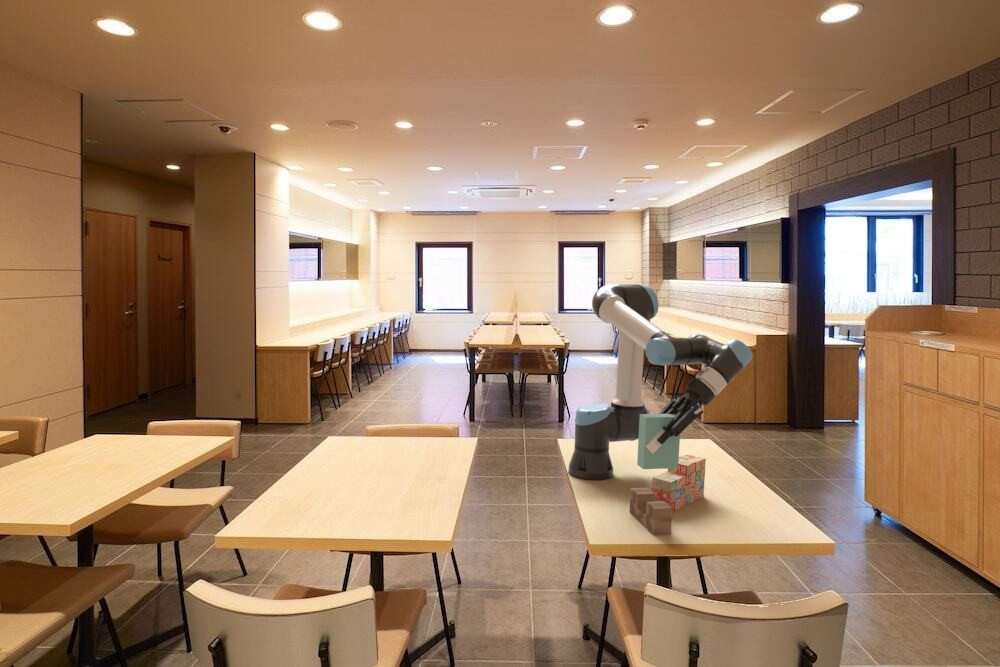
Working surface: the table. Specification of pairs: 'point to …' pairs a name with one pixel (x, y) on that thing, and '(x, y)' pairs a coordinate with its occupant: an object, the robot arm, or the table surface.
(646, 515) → the staggered wooden block
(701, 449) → the table surface
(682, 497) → the stack of blocks
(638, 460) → the rectangular block
